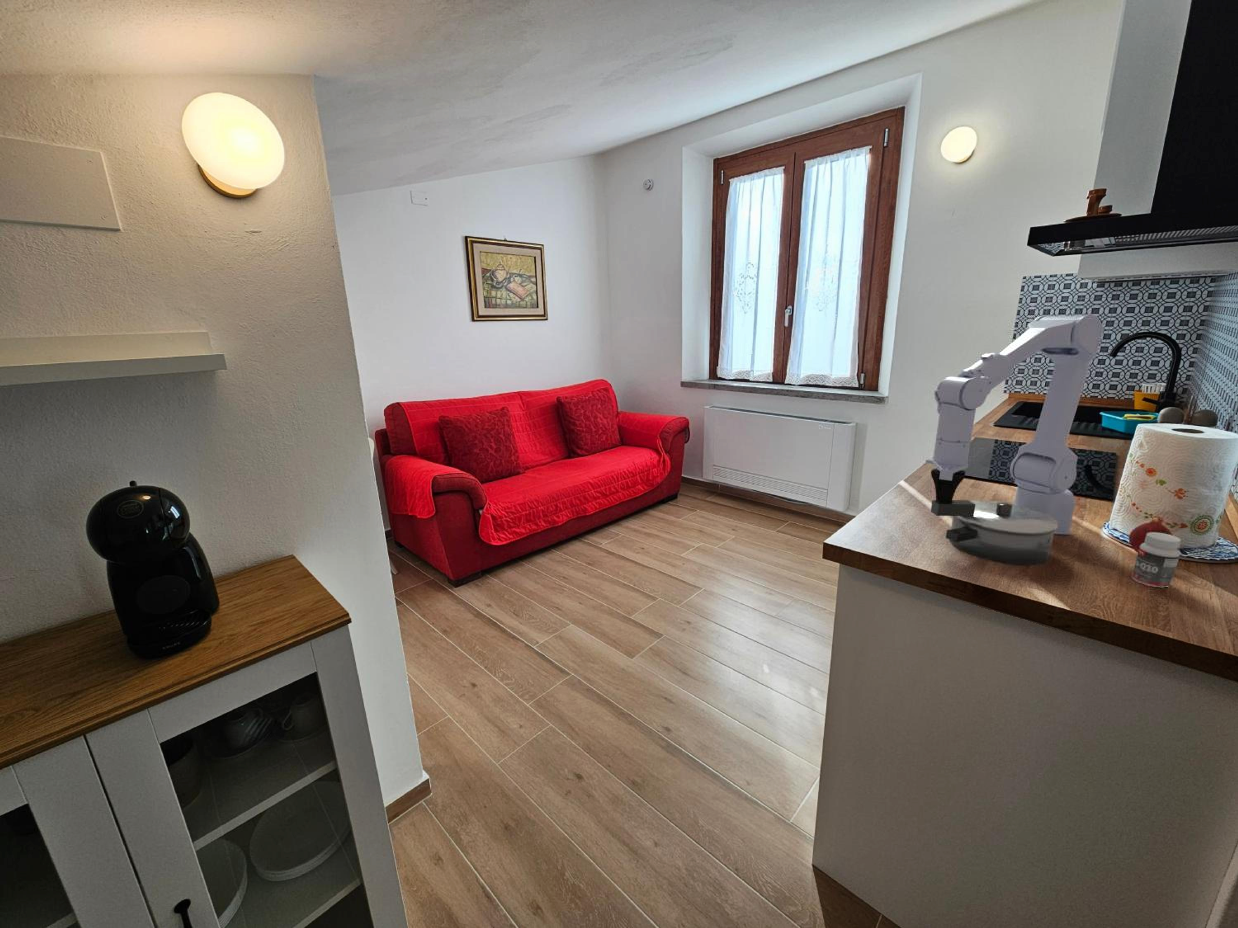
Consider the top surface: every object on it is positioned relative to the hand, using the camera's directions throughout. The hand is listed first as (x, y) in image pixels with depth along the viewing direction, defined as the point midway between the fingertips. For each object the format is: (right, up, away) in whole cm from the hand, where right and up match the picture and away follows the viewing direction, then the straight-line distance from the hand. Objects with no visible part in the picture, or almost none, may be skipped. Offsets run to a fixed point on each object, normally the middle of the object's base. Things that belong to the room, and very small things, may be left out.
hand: (942, 505), depth 104 cm
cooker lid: (+7, -2, -3) cm, 8 cm away
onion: (+33, -9, -7) cm, 35 cm away
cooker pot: (+8, -8, -2) cm, 11 cm away
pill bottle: (+25, -12, -16) cm, 32 cm away
